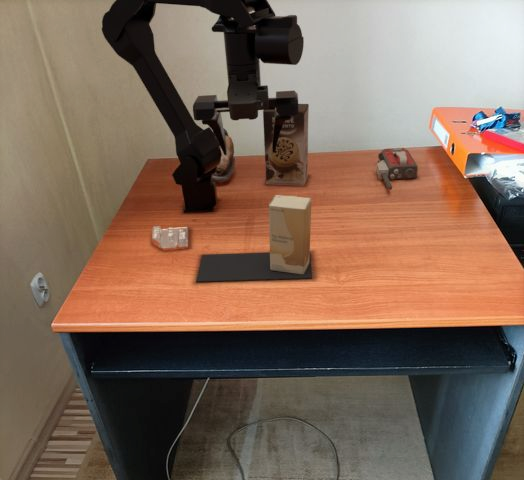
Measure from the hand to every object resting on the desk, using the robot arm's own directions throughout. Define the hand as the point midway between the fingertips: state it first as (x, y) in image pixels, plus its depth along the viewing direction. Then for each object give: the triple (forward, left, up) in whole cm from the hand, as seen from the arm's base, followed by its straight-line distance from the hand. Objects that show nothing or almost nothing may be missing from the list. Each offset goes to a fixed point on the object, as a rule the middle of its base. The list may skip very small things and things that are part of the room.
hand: (249, 153), depth 99 cm
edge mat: (+1, -20, -13) cm, 24 cm away
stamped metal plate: (-16, -9, -13) cm, 23 cm away
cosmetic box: (+7, -21, -13) cm, 26 cm away
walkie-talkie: (+32, +18, -13) cm, 39 cm away
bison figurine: (-9, +22, -13) cm, 27 cm away
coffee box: (+7, +18, -13) cm, 23 cm away
